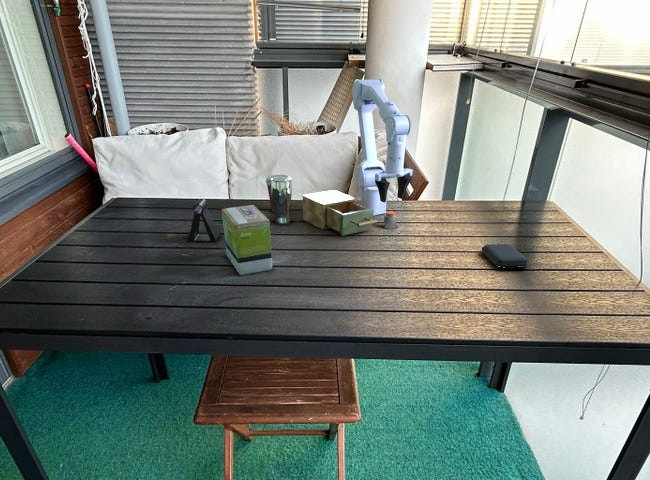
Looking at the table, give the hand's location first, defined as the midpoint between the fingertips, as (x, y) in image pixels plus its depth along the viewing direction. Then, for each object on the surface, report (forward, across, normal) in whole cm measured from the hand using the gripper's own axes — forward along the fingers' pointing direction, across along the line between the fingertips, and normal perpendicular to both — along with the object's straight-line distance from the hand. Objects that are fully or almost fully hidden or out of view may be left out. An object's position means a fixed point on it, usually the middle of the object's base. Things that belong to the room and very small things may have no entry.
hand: (391, 199), depth 164 cm
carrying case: (+10, +9, -42) cm, 44 cm away
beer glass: (+9, -29, +24) cm, 39 cm away
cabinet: (+9, -14, +16) cm, 24 cm away
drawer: (+8, -15, +3) cm, 17 cm away
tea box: (+10, -56, -4) cm, 57 cm away
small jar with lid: (+9, 0, 0) cm, 9 cm away
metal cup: (+9, -23, +38) cm, 45 cm away
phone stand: (+9, -59, +24) cm, 64 cm away
